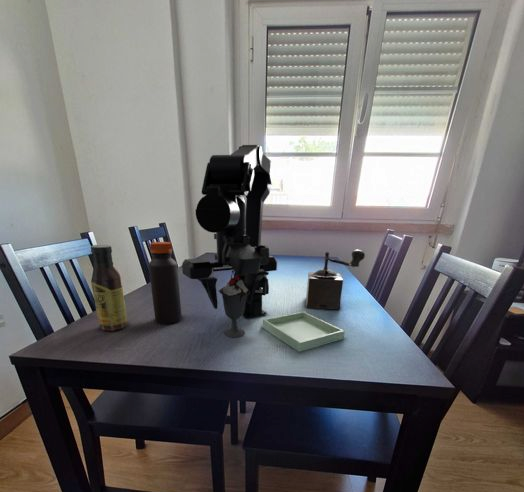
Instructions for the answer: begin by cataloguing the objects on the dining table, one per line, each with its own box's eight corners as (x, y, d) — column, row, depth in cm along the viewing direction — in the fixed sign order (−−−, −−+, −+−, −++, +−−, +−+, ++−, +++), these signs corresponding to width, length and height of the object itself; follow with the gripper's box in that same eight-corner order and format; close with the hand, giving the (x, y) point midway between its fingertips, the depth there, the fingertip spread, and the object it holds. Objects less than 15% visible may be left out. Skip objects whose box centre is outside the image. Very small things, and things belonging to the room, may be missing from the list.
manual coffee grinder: (305, 308, 86) (310, 248, 79) (305, 298, 96) (309, 244, 90) (358, 312, 84) (367, 250, 78) (352, 301, 94) (360, 246, 88)
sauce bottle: (96, 327, 70) (79, 245, 63) (121, 320, 74) (108, 243, 67) (106, 335, 66) (89, 248, 58) (132, 327, 70) (120, 245, 63)
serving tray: (262, 327, 72) (262, 319, 71) (302, 318, 78) (303, 311, 77) (299, 351, 60) (299, 342, 59) (343, 339, 66) (344, 330, 65)
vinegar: (175, 325, 72) (167, 245, 65) (150, 323, 73) (139, 243, 66) (186, 316, 78) (179, 242, 71) (163, 314, 79) (154, 241, 72)
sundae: (226, 342, 59) (225, 273, 53) (215, 329, 65) (213, 265, 58) (254, 337, 62) (256, 270, 56) (241, 324, 68) (242, 263, 61)
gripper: (198, 233, 43) (203, 326, 49) (295, 231, 52) (290, 310, 58) (178, 228, 52) (184, 308, 58) (263, 227, 61) (262, 296, 67)
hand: (232, 305), depth 60 cm, fingers closed on sundae, 7 cm apart
